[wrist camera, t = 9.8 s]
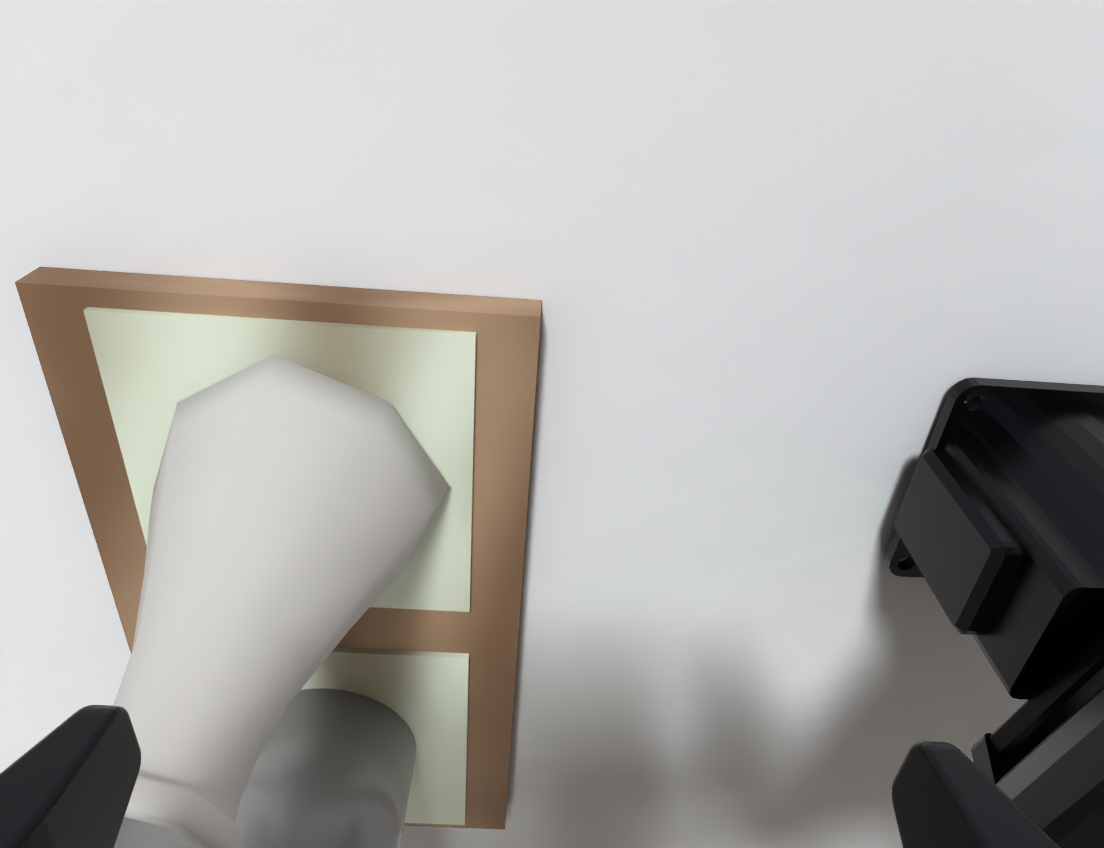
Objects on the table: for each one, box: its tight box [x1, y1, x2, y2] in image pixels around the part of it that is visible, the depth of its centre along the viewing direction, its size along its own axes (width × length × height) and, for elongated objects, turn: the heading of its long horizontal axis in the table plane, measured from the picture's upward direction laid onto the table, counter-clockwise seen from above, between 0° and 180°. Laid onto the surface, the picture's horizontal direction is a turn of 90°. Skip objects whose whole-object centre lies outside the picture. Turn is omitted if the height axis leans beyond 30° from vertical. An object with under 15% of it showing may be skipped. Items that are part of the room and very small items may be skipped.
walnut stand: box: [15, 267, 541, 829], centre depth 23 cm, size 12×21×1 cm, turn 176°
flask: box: [113, 354, 449, 848], centre depth 16 cm, size 7×7×10 cm
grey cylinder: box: [235, 688, 416, 848], centre depth 23 cm, size 6×6×7 cm
